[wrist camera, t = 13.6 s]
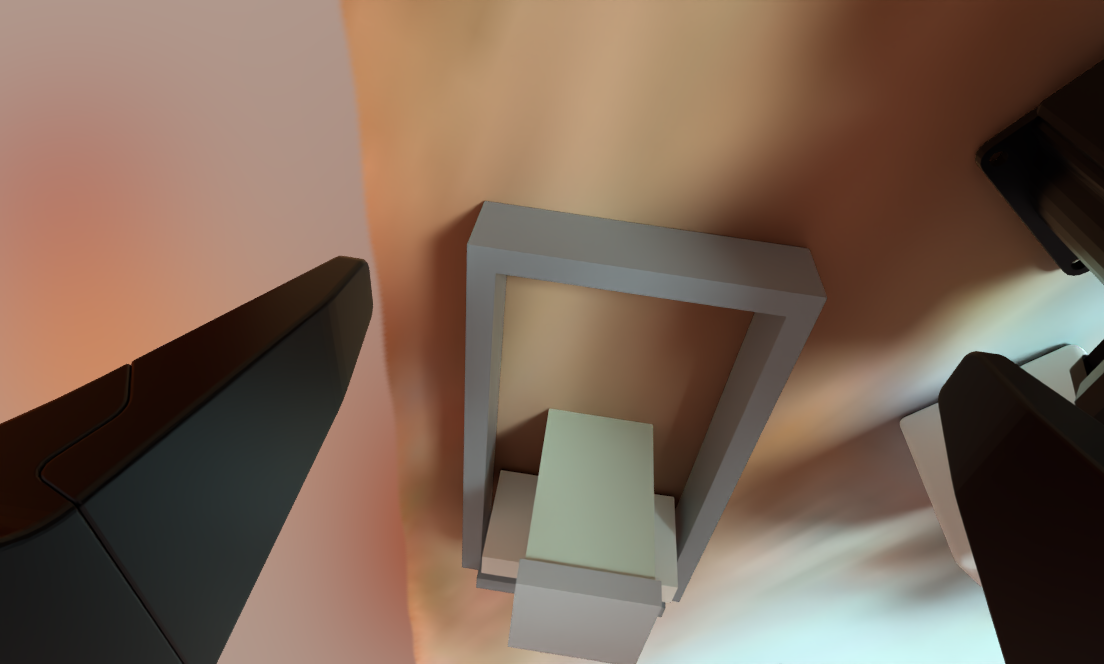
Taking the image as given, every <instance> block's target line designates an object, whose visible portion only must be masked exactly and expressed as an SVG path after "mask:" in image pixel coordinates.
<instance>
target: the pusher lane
mask: <svg viewBox="0 0 1104 664" xmlns="http://www.w3.org/2000/svg"><path fill="white" fill-rule="evenodd" d="M507 275H511V276H518V277H524V278H531V279H538V280H544V281H551V282H558V283H564V284H571V285H578V286H584V287H591V288H598V289H604V290H611V291H618V292H624V293H631V294H638V295H644V296H651V297H658V298H664V299H671V300H678V301H685V302H691V303H698V304H705V305H711V306H718V307H725V308H731V309H738V310H745V311H751V312H755V313H754V316H753V318H752V320H751V323H750V325H749V328H748V330H747V333H746V335H745V338H744V340H743V343H742V345H741V348H740V350H739V353H738V355H737V358H736V360H735V363H734V365H733V368H732V370H731V373H730V375H729V378H728V380H727V383H726V385H725V388H724V390H723V393H722V395H721V398H720V400H719V403H718V405H717V408H716V410H715V413H714V415H713V418H712V420H711V423H710V425H709V428H708V430H707V433H706V435H705V438H704V440H703V443H702V445H701V448H700V450H699V453H698V455H697V458H696V460H695V463H694V465H693V468H692V470H691V473H690V475H689V478H688V480H687V483H686V485H685V488H684V490H683V493H682V495H681V498H680V500H679V503H678V505H677V508H676V510H675V528H676V552H677V576H678V589H677V591H676V593H675V595H674V597H673V599H672V601H676V602H679V601H680V599H681V597H682V595H683V593H684V591H685V589H686V587H687V585H688V583H689V581H690V579H691V576H692V574H693V572H694V570H695V568H696V566H697V564H698V562H699V560H700V558H701V556H702V554H703V552H704V550H705V548H706V546H707V544H708V542H709V540H710V537H711V535H712V533H713V531H714V529H715V527H716V525H717V523H718V521H719V519H720V517H721V515H722V513H723V511H724V509H725V507H726V505H727V503H728V501H729V499H730V496H731V494H732V492H733V490H734V488H735V486H736V484H737V482H738V480H739V478H740V476H741V474H742V472H743V470H744V468H745V466H746V464H747V462H748V460H749V457H750V455H751V453H752V451H753V449H754V447H755V445H756V443H757V441H758V439H759V437H760V435H761V433H762V431H763V429H764V427H765V425H766V423H767V421H768V419H769V416H770V414H771V412H772V410H773V408H774V406H775V404H776V402H777V400H778V398H779V396H780V394H781V392H782V390H783V388H784V386H785V384H786V382H787V380H788V377H789V375H790V373H791V371H792V369H793V367H794V365H795V363H796V361H797V359H798V357H799V355H800V353H801V351H802V349H803V347H804V345H805V343H806V341H807V338H808V336H809V334H810V332H811V330H812V328H813V326H814V324H815V322H816V320H817V318H818V316H819V314H820V312H821V310H822V308H823V306H824V304H825V302H826V300H827V296H826V293H825V290H824V288H823V285H822V282H821V279H820V277H819V274H818V271H817V269H816V266H815V263H814V260H813V258H812V255H811V252H810V250H809V249H808V248H801V247H794V246H788V245H781V244H774V243H767V242H760V241H754V240H747V239H740V238H733V237H727V236H720V235H713V234H706V233H699V232H693V231H686V230H679V229H672V228H665V227H659V226H652V225H645V224H638V223H632V222H625V221H618V220H611V219H604V218H598V217H591V216H584V215H577V214H570V213H564V212H557V211H550V210H543V209H537V208H530V207H523V206H516V205H509V204H503V203H496V202H489V201H484V204H483V206H482V209H481V211H480V214H479V216H478V219H477V221H476V223H475V226H474V228H473V231H472V233H471V236H470V238H469V241H468V243H467V284H466V349H465V413H464V478H463V543H462V567H463V568H469V569H476V570H478V575H477V584H476V588H483V589H489V590H495V591H501V592H508V593H514V594H515V587H516V580H517V578H511V577H504V576H498V575H492V574H486V573H481V569H482V555H483V550H484V546H485V541H486V537H487V532H488V527H489V523H490V518H491V505H492V490H493V475H494V460H495V445H496V429H497V414H498V399H499V384H500V369H501V354H502V339H503V324H504V309H505V294H506V279H507ZM664 610H665V602H662V608H661V610H660V612H659V614H658V617H662V614H663V612H664Z"/></svg>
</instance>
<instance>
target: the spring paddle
mask: <svg viewBox="0 0 1104 664" xmlns="http://www.w3.org/2000/svg"><path fill="white" fill-rule="evenodd" d="M537 482H538V476H535V475H529V474H523V473H516V472H510V471H503V470H501V472H500V476H499V481H498V486H497V490H496V495H495V500H494V504H493V509H492V513H491V518H490V523H489V527H488V532H487V537H486V541H485V546H484V550H483V555H482V569H481V573H486V574H492V575H498V576H504V577H511V578H517V574H518V568H519V562H520V559H525V558H526V552H527V545H528V539H529V533H530V526H531V520H532V514H533V507H534V501H535V495H536V488H537ZM654 540H655V580H658V581H661V585H662V602H667V603H671V602H672V599H673V597H674V595H675V593H676V591H677V589H678V576H677V552H676V528H675V504H674V497H670V496H663V495H657V494H654Z"/></svg>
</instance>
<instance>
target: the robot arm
mask: <svg viewBox="0 0 1104 664" xmlns="http://www.w3.org/2000/svg"><path fill="white" fill-rule="evenodd" d="M999 151H1002V154H1001V156H1000V157H999V158H998V159H996V160H994V161H989V160H990V157H991V156H992V155H993V154H994V153H997V152H999ZM975 161H976V163H977V165H978V166H979V167H980V169H981V170H982V171H983V172H984V174H985V175H986V176H987V177H988V179H989V180H990V181H991V182H992V184H993V185H994V186H995V187H996V189H997V190H998V191H999V192H1000V194H1001V195H1002V196H1003V197H1004V199H1005V200H1006V201H1007V202H1008V204H1009V205H1010V206H1011V207H1012V209H1013V210H1014V211H1015V212H1016V214H1017V215H1018V216H1019V217H1020V219H1021V220H1022V221H1023V222H1024V224H1025V225H1026V226H1027V227H1028V229H1029V230H1030V231H1031V232H1032V234H1033V235H1034V236H1035V237H1036V239H1037V240H1038V241H1039V242H1040V244H1041V245H1042V246H1043V247H1044V249H1045V250H1046V251H1047V252H1048V254H1049V255H1050V256H1051V257H1052V259H1053V260H1054V261H1055V262H1056V264H1057V265H1058V266H1059V267H1060V268H1061V269H1062V271H1063V272H1064V273H1066V274H1067V275H1072V276H1075V275H1081V274H1083V273H1086V272H1088V271H1091V272H1092V273H1093V274H1094V275H1095V276H1096V277H1097V278H1098V279H1099V280H1100V281H1101V282H1102V284H1103V285H1104V60H1102V61H1101V62H1099V63H1098V64H1097V65H1095V66H1094V67H1092V68H1091V69H1089V70H1088V71H1086V72H1085V73H1083V74H1082V75H1081V76H1079V77H1078V78H1076V79H1075V80H1073V81H1072V82H1070V83H1069V84H1067V85H1066V86H1064V87H1063V88H1062V89H1060V90H1059V91H1057V92H1056V93H1054V94H1053V95H1051V96H1050V97H1048V98H1047V99H1046V100H1044V101H1043V102H1042V103H1041V105H1040V106H1038V107H1037V108H1035V109H1034V110H1033V111H1031V112H1030V113H1028V114H1027V115H1025V116H1024V117H1022V118H1021V119H1019V120H1018V121H1016V122H1015V123H1014V124H1012V125H1011V126H1009V127H1008V128H1006V129H1005V130H1003V131H1002V132H1000V133H999V134H997V135H996V136H995V137H993V138H992V139H990V140H989V141H987V142H986V143H984V144H983V145H982V146H981V147H980V148H979V150H978V151H977V153H976V157H975ZM1078 258H1079V259H1080V260H1079V261H1077V262H1075V263H1072V262H1073V261H1075V260H1076V259H1078ZM372 309H373V299H372V290H371V281H370V272H369V266H368V263H367V262H366V261H365V260H364V259H359V258H353V257H347V256H338V257H335V258H333V259H331V260H329V261H327V262H325V263H323V264H322V265H320V266H318V267H316V268H314V269H312V270H310V271H308V272H306V273H304V274H302V275H300V276H298V277H296V278H294V279H292V280H290V281H288V282H287V283H285V284H282V285H281V286H279V287H277V288H275V289H273V290H271V291H269V292H267V293H265V294H263V295H261V296H259V297H257V298H255V299H253V300H251V301H249V302H247V303H245V304H243V305H241V306H239V307H237V308H235V309H233V310H232V311H230V312H228V313H226V314H224V315H222V316H220V317H218V318H216V319H214V320H212V321H210V322H208V323H206V324H204V325H202V326H200V327H199V328H196V329H195V330H192V331H190V332H189V333H187V334H185V335H183V336H181V337H179V338H177V339H175V340H173V341H171V342H169V343H167V344H165V345H163V346H161V347H159V348H157V349H155V350H153V351H151V352H149V353H147V354H146V355H143V356H142V357H139V358H138V359H136V360H134V361H133V362H132V364H131V365H129V364H126V365H124V366H122V367H120V368H118V369H116V370H114V371H112V372H110V373H108V374H106V375H104V376H102V377H100V378H98V379H96V380H94V381H92V382H90V383H88V384H86V385H84V386H82V387H80V388H78V389H76V390H74V391H72V392H69V393H67V394H65V395H63V396H61V397H59V398H57V399H55V400H53V401H51V402H48V403H46V404H44V405H42V406H39V407H37V408H35V409H33V410H30V411H28V412H26V413H24V414H22V415H19V416H17V417H15V418H13V419H10V420H8V421H6V422H3V423H1V424H0V664H217V662H218V659H219V657H220V655H221V653H222V651H223V649H224V647H225V645H226V643H227V641H228V639H229V637H230V635H231V633H232V630H233V628H234V626H235V624H236V622H237V620H238V618H239V616H240V614H241V612H242V610H243V608H244V606H245V604H246V601H247V599H248V597H249V595H250V593H251V591H252V589H253V587H254V585H255V583H256V581H257V579H258V577H259V574H260V572H261V570H262V568H263V566H264V564H265V562H266V560H267V558H268V556H269V554H270V552H271V549H272V547H273V546H274V543H275V541H276V539H277V537H278V535H279V533H280V531H281V529H282V527H283V525H284V523H285V521H286V519H287V516H288V514H289V512H290V510H291V508H292V506H293V504H294V502H295V500H296V498H297V496H298V494H299V492H300V489H301V487H302V485H303V483H304V481H305V479H306V477H307V474H308V473H309V471H310V469H311V467H312V465H313V463H314V460H315V458H316V456H317V454H318V452H319V450H320V448H321V446H322V444H323V442H324V439H325V438H326V436H327V433H328V431H329V429H330V427H331V425H332V423H333V421H334V419H335V417H336V415H337V413H338V411H339V408H340V406H341V404H342V401H343V399H344V397H345V394H346V391H347V387H348V385H349V382H350V379H351V377H352V373H353V371H354V368H355V365H356V362H357V358H358V356H359V353H360V350H361V347H362V344H363V341H364V338H365V335H366V331H367V329H368V326H369V323H370V320H371V316H372ZM1069 371H1070V375H1071V379H1072V383H1073V388H1074V392H1075V396H1076V398H1075V401H1074V403H1075V405H1074V404H1073V403H1071V402H1070V401H1068V400H1067V399H1066V398H1064V397H1063V396H1061V395H1060V394H1058V393H1057V392H1055V391H1054V390H1053V389H1051V388H1050V387H1048V386H1047V385H1045V384H1044V383H1042V382H1041V381H1040V380H1038V379H1037V378H1035V377H1034V376H1032V375H1031V374H1029V373H1028V372H1026V371H1025V370H1024V369H1022V368H1021V367H1019V366H1018V365H1016V364H1015V363H1013V362H1012V361H1011V360H1009V359H1008V358H1006V357H1004V356H1002V355H999V354H992V353H986V352H979V351H975V352H971V353H969V354H967V355H966V356H965V357H964V358H963V359H962V361H961V362H960V364H959V365H958V366H957V368H956V369H955V370H954V372H953V373H952V375H951V376H950V377H949V379H948V380H947V381H946V383H945V384H944V386H943V387H942V389H941V391H940V393H939V397H938V407H939V413H940V419H941V424H942V430H943V435H944V441H945V447H946V452H947V458H948V463H949V469H950V475H951V480H952V485H953V489H954V494H955V498H956V501H957V505H958V509H959V512H960V515H961V519H962V522H963V525H964V529H965V532H966V535H967V539H968V542H969V545H970V549H971V552H972V555H973V558H974V562H975V565H976V568H977V572H978V575H979V578H980V582H981V585H982V588H983V591H984V595H985V598H986V601H987V605H988V608H989V611H990V615H991V618H992V621H993V624H994V628H995V631H996V634H997V638H998V641H999V644H1000V648H1001V651H1002V654H1003V657H1004V661H1005V664H1104V339H1103V341H1102V342H1101V343H1100V344H1099V345H1098V346H1097V347H1096V348H1095V349H1094V350H1093V351H1092V352H1091V353H1090V354H1089V355H1082V356H1081V357H1080V358H1079V359H1078V360H1077V362H1076V363H1075V364H1074V365H1073V366H1072V367H1071V368H1070V370H1069Z"/></svg>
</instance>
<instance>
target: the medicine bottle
mask: <svg viewBox="0 0 1104 664" xmlns="http://www.w3.org/2000/svg"><path fill="white" fill-rule="evenodd" d="M1082 355H1088V354H1087V353H1086V352H1085V350H1084V349H1082V348H1081V347H1079V346H1078V345H1067V346H1065V347H1062V348H1060V349H1058V350H1056V351H1053V352H1051V353H1049V354H1046V355H1044V356H1042V357H1040V358H1037V359H1035V360H1033V361H1031V362H1028V363H1026V364H1024V365H1022V366H1019V367H1021V368H1022V369H1024V370H1025V371H1026V372H1028V373H1029V374H1031V375H1032V376H1034V377H1035V378H1037V379H1038V380H1040V381H1041V382H1042V383H1044V384H1045V385H1047V386H1048V387H1050V388H1051V389H1053V390H1054V391H1055V392H1057V393H1058V394H1060V395H1061V396H1063V397H1064V398H1066V399H1067V400H1068V401H1070V402H1071V403H1073V404H1074V405H1075V403H1074V401H1075V398H1076V396H1075V392H1074V388H1073V383H1072V379H1071V375H1070V371H1069V370H1070V368H1071V367H1072V366H1073V365H1074V364H1075V363H1076V362H1077V360H1078V359H1079V358H1080V357H1081V356H1082ZM900 428H901V430H902V433H903V435H904V437H905V440H906V442H907V445H908V447H909V450H910V452H911V455H912V457H913V460H914V462H915V464H916V467H917V469H918V472H919V474H920V477H921V479H922V482H923V484H924V486H925V489H926V491H927V494H928V496H929V499H930V501H931V504H932V506H933V508H934V511H935V513H936V516H937V518H938V521H939V523H940V526H941V528H942V530H943V533H944V535H945V538H946V540H947V543H948V545H949V548H950V550H951V553H952V555H953V557H954V560H955V562H956V563H957V564H958V566H959V567H960V568H961V569H963V570H964V571H965V572H966V573H967V574H968V575H969V576H970V577H971V578H972V579H973V580H974V581H976V582H977V583H978V584H979V585H980V586H981V587H982V585H981V582H980V578H979V575H978V572H977V568H976V565H975V562H974V558H973V555H972V552H971V549H970V545H969V542H968V539H967V535H966V532H965V529H964V525H963V522H962V519H961V515H960V512H959V509H958V505H957V501H956V498H955V494H954V489H953V485H952V480H951V475H950V469H949V463H948V458H947V452H946V447H945V441H944V435H943V430H942V424H941V419H940V413H939V407H938V403H936V404H933V405H931V406H929V407H927V408H924V409H922V410H920V411H918V412H915V413H913V414H911V415H909V416H906V417H904V418H903V419H902V420H901V421H900Z"/></svg>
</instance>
